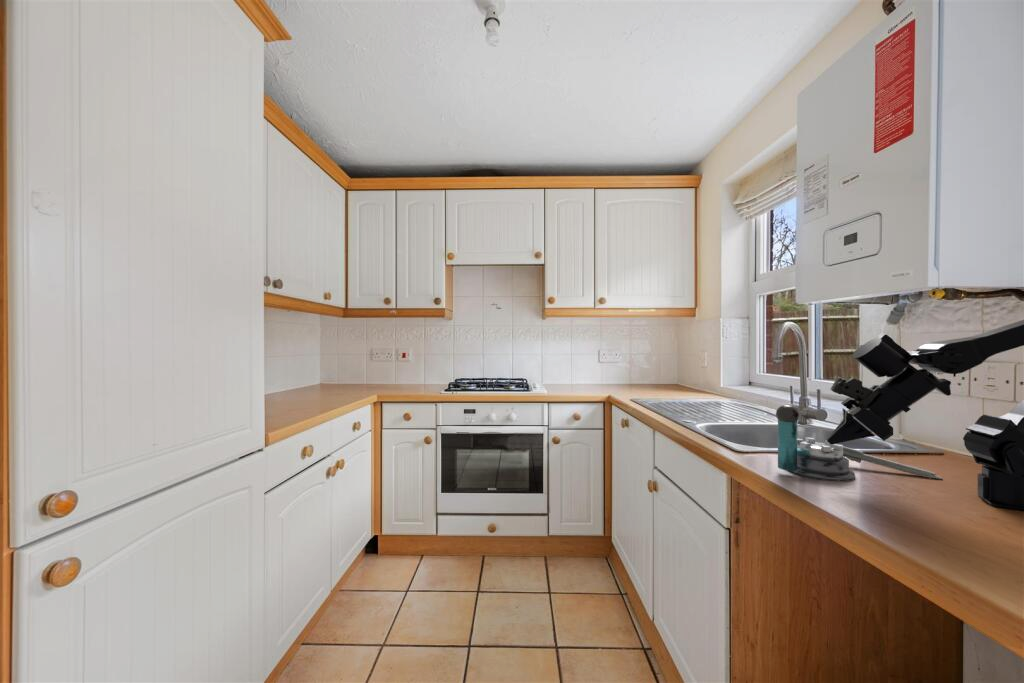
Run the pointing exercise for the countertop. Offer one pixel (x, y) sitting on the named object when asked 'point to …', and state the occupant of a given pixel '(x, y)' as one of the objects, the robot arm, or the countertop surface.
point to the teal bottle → (800, 442)
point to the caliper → (885, 463)
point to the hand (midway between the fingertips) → (828, 442)
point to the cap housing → (824, 469)
